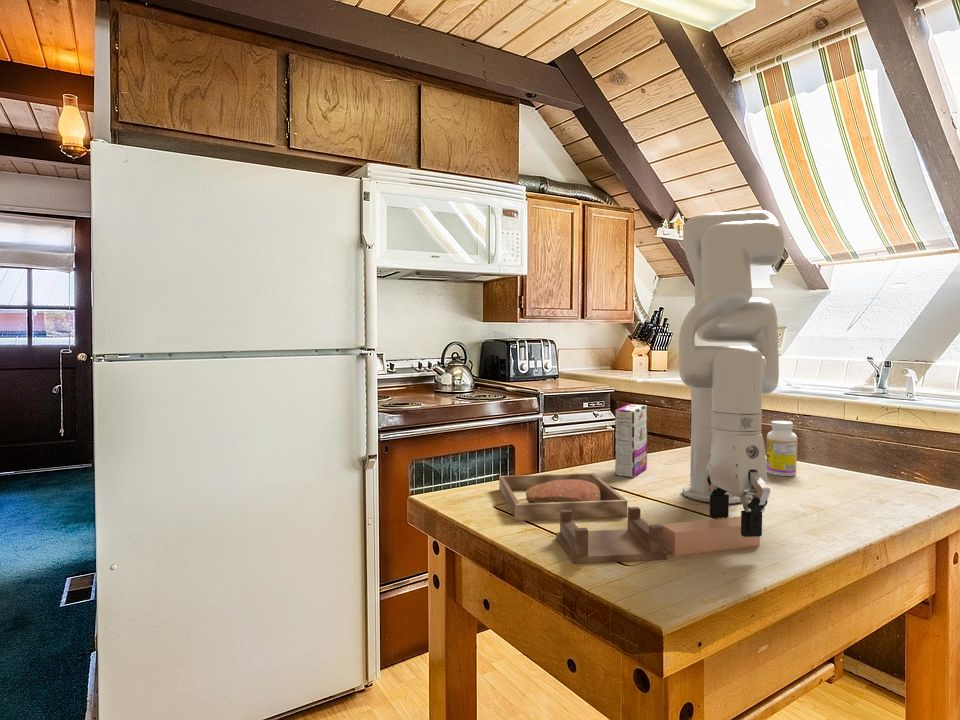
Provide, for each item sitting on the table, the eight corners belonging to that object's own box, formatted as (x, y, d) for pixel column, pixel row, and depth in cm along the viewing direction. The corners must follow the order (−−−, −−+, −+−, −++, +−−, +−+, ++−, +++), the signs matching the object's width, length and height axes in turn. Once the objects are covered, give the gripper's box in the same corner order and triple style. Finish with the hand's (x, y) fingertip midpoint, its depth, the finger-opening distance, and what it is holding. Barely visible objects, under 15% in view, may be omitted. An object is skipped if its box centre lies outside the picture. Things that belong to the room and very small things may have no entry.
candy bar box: (628, 466, 152) (628, 403, 151) (647, 468, 150) (648, 405, 149) (613, 475, 143) (614, 408, 142) (633, 478, 140) (634, 410, 139)
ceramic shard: (532, 469, 129) (601, 482, 127) (528, 498, 129) (596, 512, 126) (525, 476, 115) (602, 491, 112) (520, 509, 115) (597, 525, 112)
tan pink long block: (743, 538, 101) (743, 516, 101) (759, 547, 97) (760, 523, 97) (660, 548, 97) (661, 524, 97) (674, 557, 93) (675, 532, 93)
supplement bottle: (768, 469, 149) (769, 419, 148) (798, 472, 145) (799, 421, 144) (763, 474, 144) (764, 422, 143) (794, 478, 140) (795, 425, 139)
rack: (640, 534, 102) (640, 506, 102) (667, 559, 92) (667, 527, 91) (556, 538, 101) (556, 509, 101) (573, 563, 90) (573, 531, 90)
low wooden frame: (593, 486, 134) (593, 473, 134) (627, 516, 112) (627, 500, 112) (499, 489, 131) (499, 475, 131) (515, 520, 110) (515, 505, 110)
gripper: (791, 430, 88) (788, 543, 88) (729, 416, 105) (727, 511, 106) (744, 431, 87) (742, 545, 88) (689, 416, 104) (688, 512, 105)
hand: (734, 526), depth 97 cm, fingers open, 9 cm apart
